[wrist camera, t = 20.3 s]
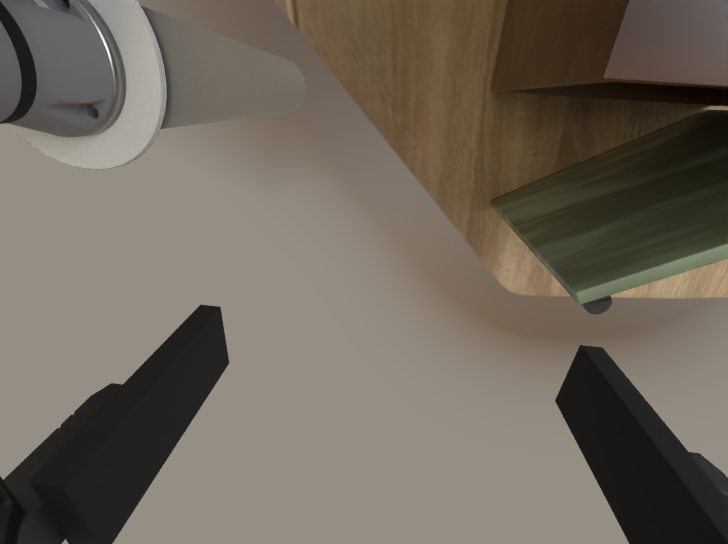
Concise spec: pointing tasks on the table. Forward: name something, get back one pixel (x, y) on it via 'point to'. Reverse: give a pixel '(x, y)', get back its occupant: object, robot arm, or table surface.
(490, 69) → the table surface
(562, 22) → the cupboard
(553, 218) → the cupboard door
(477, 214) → the table surface
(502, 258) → the table surface
